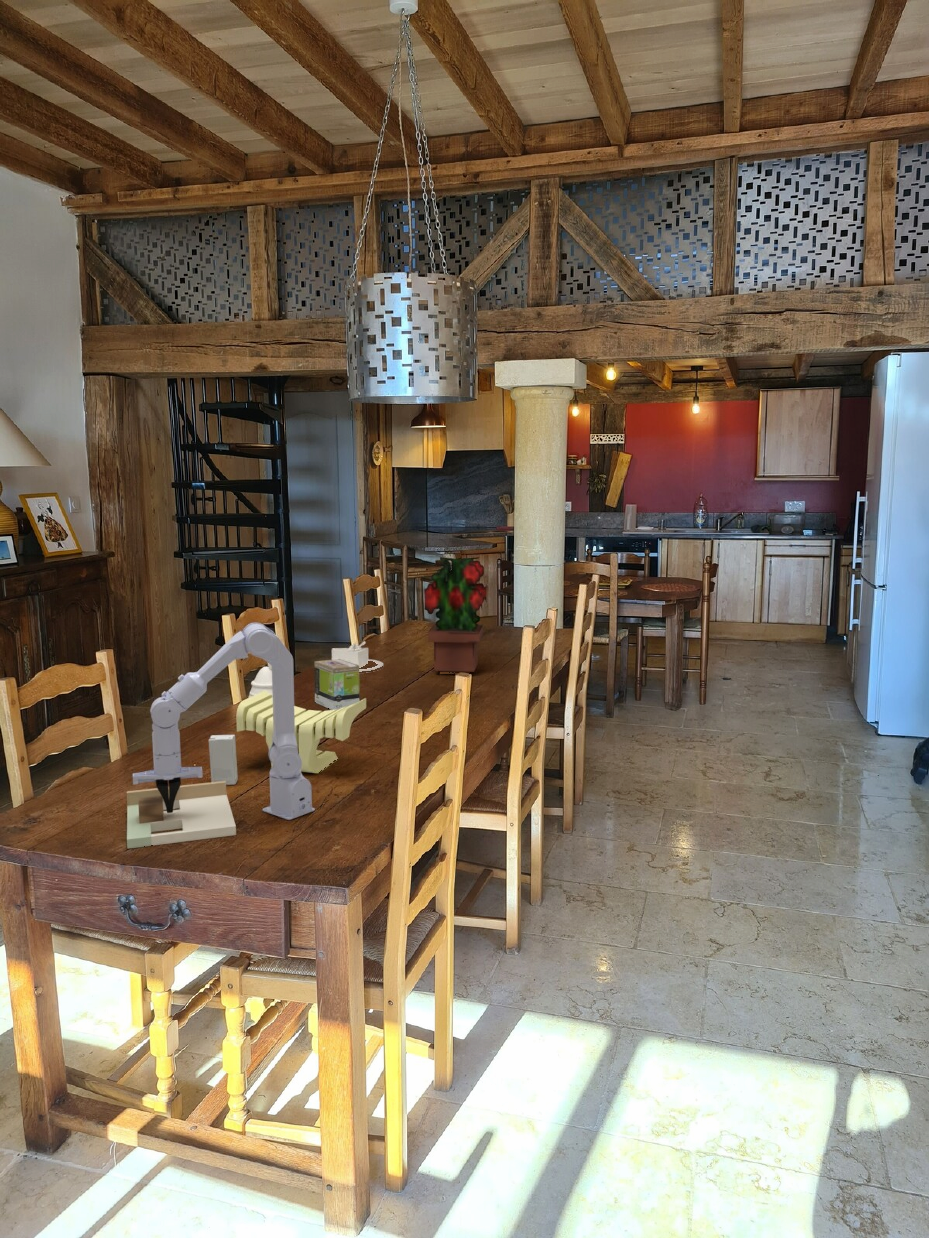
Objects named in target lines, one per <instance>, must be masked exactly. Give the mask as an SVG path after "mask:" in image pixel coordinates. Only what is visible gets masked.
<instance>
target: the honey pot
mask: <svg viewBox="0 0 929 1238" xmlns="http://www.w3.org/2000/svg"><path fill="white" fill-rule="evenodd" d="M250 685H251V689H250V691H249V695H248V698H250V697H252V696H254V695H256V694H258V693H261V692H263V691H265V690H266V691H267V692H269V693H270V694H272V697H273V693H272V666H271V665H270V664H269V663H268V662H267V666H263V667H262V668H260V669H259V671H258V672H257V674H256V676H255V678H254V680H251V683H250Z"/></svg>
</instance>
